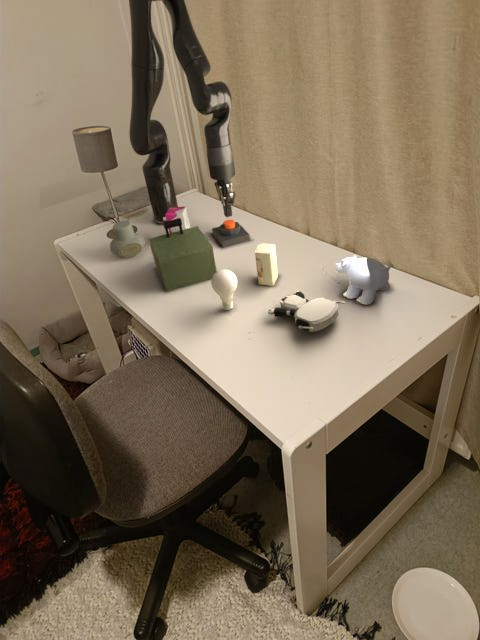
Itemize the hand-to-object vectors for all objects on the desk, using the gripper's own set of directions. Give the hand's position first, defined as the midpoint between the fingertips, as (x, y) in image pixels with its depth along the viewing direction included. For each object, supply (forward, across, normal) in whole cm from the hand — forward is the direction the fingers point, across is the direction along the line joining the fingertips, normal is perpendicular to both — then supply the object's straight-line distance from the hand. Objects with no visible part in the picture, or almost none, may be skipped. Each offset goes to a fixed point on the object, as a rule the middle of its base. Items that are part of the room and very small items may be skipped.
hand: (228, 215), depth 138 cm
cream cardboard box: (+8, -30, 0) cm, 31 cm away
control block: (+8, 0, 0) cm, 8 cm away
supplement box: (+8, +5, +15) cm, 18 cm away
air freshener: (+8, +8, +32) cm, 34 cm away
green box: (+8, -14, +19) cm, 25 cm away
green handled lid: (-1, -14, +19) cm, 23 cm away
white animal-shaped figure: (+8, -46, -19) cm, 50 cm away
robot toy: (+8, -50, -1) cm, 51 cm away
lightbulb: (+8, -37, +14) cm, 40 cm away
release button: (+4, 0, 0) cm, 4 cm away
